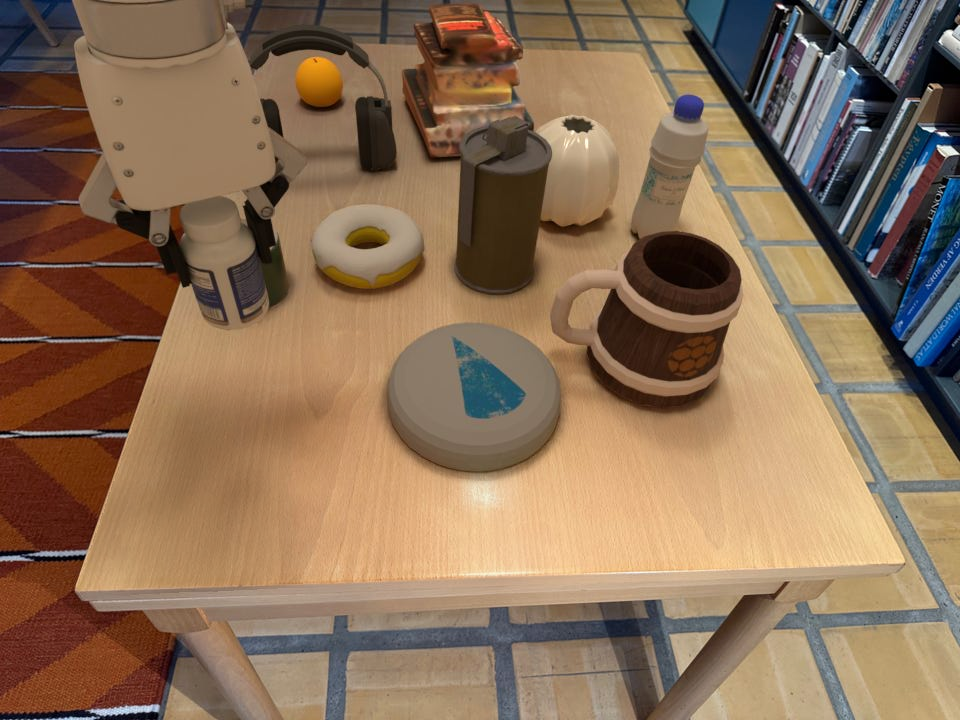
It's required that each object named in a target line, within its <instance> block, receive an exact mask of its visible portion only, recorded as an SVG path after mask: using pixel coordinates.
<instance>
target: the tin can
mask: <svg viewBox="0 0 960 720" xmlns="http://www.w3.org/2000/svg"><path fill="white" fill-rule="evenodd" d="M241 222H242V223H243V224H245V225H246V226H247V221H246V218H241ZM273 231H274V236H275V241H276V246H272V247H270V252H271V257H272V261H273V263H270V264H267V265H266V264H265V263H264V264H263V263H262V261H261V260H260V258H259V260H260V264H261V268H262V272H263V277H264V281H265V285H266V290H267V293H268V299H269V307H268V308H270V307H272V306H274V305H276V304H278V303H279V302H280V301H281V300H283V299H284V298H285V296H286V295H287V293H288V291H289V287H290V285H289V284H290V283H289V279H288V278H289V277H288V273H287V269H286V268H287V267H286V263H285V258H284V254H283V249H282V244H281V239H280V235H279V233H278V231H277V229H276V228H275V227H274V226H273Z"/></svg>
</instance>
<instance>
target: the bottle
mask: <svg viewBox="0 0 960 720" xmlns="http://www.w3.org/2000/svg"><path fill="white" fill-rule="evenodd" d="M704 109H705V103H704V100H703V99H702V98H701V97H700V96H698V95H695V94H689V93H688V94H683V95H681V96H679V97H678V98H677V99H676V102H675V105H674V107H673V111H672V112H668V113H666V114H664V115H663V116H662V117H661V118H660V121H659V123H658V125H657V127H656V130H655V132H654V135H653V136H652V138H651V141H650V143H651V144H650V148H649V156H650V157H649V160H648V163H647V167H646V171H645V174H644V178H643V181H642V184H641V189H640V192H639V194H638V197H637V200H636V203H635V205H634V207H633V211H632V215H631V220H630V221H631V222H630V227H631V231H632V233H633V234H636V235H637V236H638V240H640V239H641V238H643V237H644V236H648V235H651V234H655V233H659V232H666V231H676V228H677V226H678V224H679V220H680V216H681V213H682V208H683V205H684V201H685V198H686V195H687V193H688V190H689V187H690V184H691V182H692V179H693V175H694V172H695V170H696V167H697V166H699V165H700V163H701V160H702V157H703V155H704V153H705V150H706V149H705V148H706V144H707V143H706V142H707V137H708V133H709V124H708V123H707V122H706V120H704V119H703V118H702V115H703V112H704Z"/></svg>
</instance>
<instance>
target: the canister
mask: <svg viewBox="0 0 960 720" xmlns="http://www.w3.org/2000/svg"><path fill="white" fill-rule="evenodd" d="M530 127H531V124H530V123H528V122H526V121H524V120H522V119H520V118H519V117H517V116H513V117H508V118H505V119H503V120H496V121H493V122H491V123H490V124H489V125H487V126H483V127H480V128H476V129H473V130H471V131H470V132H468V133H467V134H465V136H464V137H463V138H462V139H461V142H460V145H459V149H460V153H461V156H460V165H459V166H460V168H459V188H458V189H459V191H458V211H457V233H456V235H457V237H456V252H455V253H456V256H455V259H454V262H453V267H454V268H453V269H454V272H455V275H456V277H457V278H458V279H459V280H460V282H462V284H464V285H465V286H466V287H469V288H470V289H472V290H475V291H477V292H480V293H484V294H488V295H503V294H504V295H505V294H507V295H508V294H511V293H515V292H518V291H519V290H521V289H523V288H524V287H526V286H527V285H529V283H530V282H531V280H532V279H533V276H534V272H535V271H534V270H535V268H534V262H535V257H536V256H535V255H536V249H537V243H538V236H539V231H540V223H541V220H540V218H541V211H542V205H543V199H544V192H545V186H546V180H547V173H548V167H549V162H550V161H551V158H552V148H551V146H550V144H549V143H548V142H547V140H546V139H544V138H543V137H542V136H540V135H539V134H537V133H536V131H534V132H533V131H531V130H528V128H530Z"/></svg>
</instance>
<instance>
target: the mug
mask: <svg viewBox="0 0 960 720" xmlns="http://www.w3.org/2000/svg"><path fill="white" fill-rule="evenodd" d="M591 289H602V290H609V293H608V295H607V297H606V298H605V299H606V300H605V302H604V304H603V306H602V307H599V310H598V311H597V312H596V314H595V316H594V318H593V320H591V323H590V325H589V329H581V328H577V327H572V326H571V325H570V324H569V316H570V314H571V310H572V306H573V303H574V301H575V300H576V299H577V298H578V297H579V296H580V295H581V294H582V293H585V292H587V291H589V290H591ZM743 299H744V290H743V285H742V274H741V269H740V267H739V265H738V264H737V262H736V260H735V259H734V257H733V256H732V255H731V254H730V253H728V251H726V250H725V249H724V248H723V247H722V246H720V245H719V244H718V243H716V242H714V241H712V240H710V239H708V238H707V237H704V236H701V235H697V234H695V233H691V232H684V231H679V230H675V231H666V232H659V233H655V234H651V235H648V236H644V237H643V238H641V239H638V240H637V241H635V242H633V244H632V246H631V248H629V249H628V250H626V251H625V252H624V253H623V254H622V256H621V257H620V259H619V260H618V262H617V264H616V266H615V268H614V269H584V270H583V271H581V272H578V273H576V274H575V275H572V276H570V277H569V278H568V279H567V280H566V281H565V282H564V283H563V284H562V285H561V286H559V288H558V289H557V290H556V293H555V296H554V299H553V303H552V306H551V310H550V313H549V320H550V324H551V325H550V326H551V331H552V333H553V334H554V335H556V336H557V337H559V338H560V339H561V340H563V341H564V342H565V343H567V344H571V345H578V346H586V358H587V359H588V362H589V365H590V368H591V370H592V371H593V373H594V374H595V376H596V377H597V378H598V379H599V381H600V382H601V383H602V385H604V386H605V387H607V388H608V389H609V390H611V391H612V392H613V393H615V394H616V395H618V396H619V397H621V398H623V399H626V400H628V401H631V402H632V403H636V404H638V405H642V406H648V407H653V408H658V409H664V408H680V407H683V406H686V405H688V404H691V403H693V402H696V401H698V400H700V398H702V397H703V396H704V395H705V394H706V393H707V392H708V391H709V390H710V388H711V385H712V383H713V381H715V380H716V379H717V378H718V377H719V374H720V372H721V368H722V366H723V363H724V358H725V352H724V344H725V341H726V337H727V334H728V330H729V327H730V324H731V322H732V321H733V320H734V319H735V318H736V317H737V316H738V315H739V311H740V309H741V306H742V304H743V303H742V302H743Z"/></svg>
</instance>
